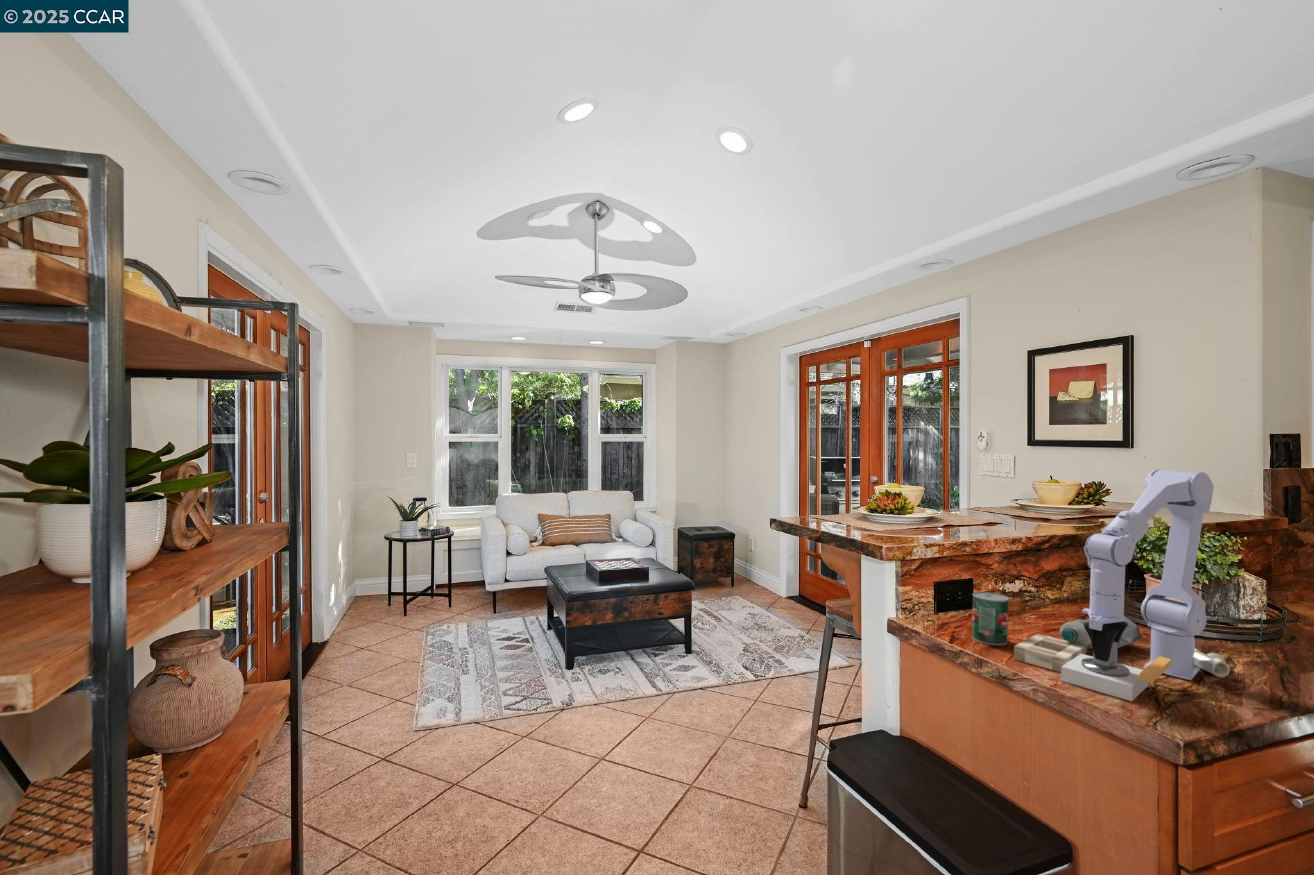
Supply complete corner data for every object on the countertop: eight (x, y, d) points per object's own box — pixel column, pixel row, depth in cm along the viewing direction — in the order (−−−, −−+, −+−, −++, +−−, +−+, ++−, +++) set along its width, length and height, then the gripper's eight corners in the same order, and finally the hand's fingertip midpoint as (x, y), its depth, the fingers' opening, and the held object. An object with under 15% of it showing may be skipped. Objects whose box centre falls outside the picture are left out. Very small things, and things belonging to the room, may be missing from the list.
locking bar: (1158, 661, 128) (1159, 656, 128) (1171, 664, 126) (1171, 659, 126) (1139, 679, 118) (1139, 673, 118) (1152, 683, 117) (1152, 677, 117)
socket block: (1080, 667, 135) (1080, 653, 134) (1148, 685, 125) (1148, 671, 125) (1061, 680, 127) (1061, 666, 127) (1131, 701, 118) (1132, 686, 118)
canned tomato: (1012, 646, 147) (1013, 601, 146) (977, 643, 148) (978, 599, 148) (1001, 635, 154) (1002, 592, 154) (967, 633, 156) (968, 590, 156)
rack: (1037, 645, 148) (1037, 633, 147) (1085, 658, 140) (1085, 645, 140) (1013, 659, 139) (1014, 646, 139) (1064, 673, 131) (1064, 659, 131)
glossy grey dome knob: (1088, 672, 132) (1089, 631, 132) (1133, 684, 126) (1134, 641, 125) (1075, 681, 127) (1076, 638, 127) (1122, 695, 120) (1123, 650, 120)
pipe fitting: (1213, 666, 138) (1182, 663, 138) (1215, 649, 138) (1184, 646, 138) (1244, 681, 130) (1211, 677, 130) (1247, 663, 130) (1213, 659, 130)
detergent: (1093, 631, 158) (1033, 638, 147) (1097, 605, 158) (1038, 609, 147) (1151, 653, 146) (1091, 661, 136) (1156, 624, 146) (1097, 630, 135)
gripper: (1095, 583, 133) (1093, 644, 134) (1072, 593, 124) (1070, 659, 125) (1135, 590, 128) (1133, 653, 128) (1114, 601, 119) (1112, 670, 119)
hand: (1105, 657), depth 126 cm, fingers closed on glossy grey dome knob, 4 cm apart
